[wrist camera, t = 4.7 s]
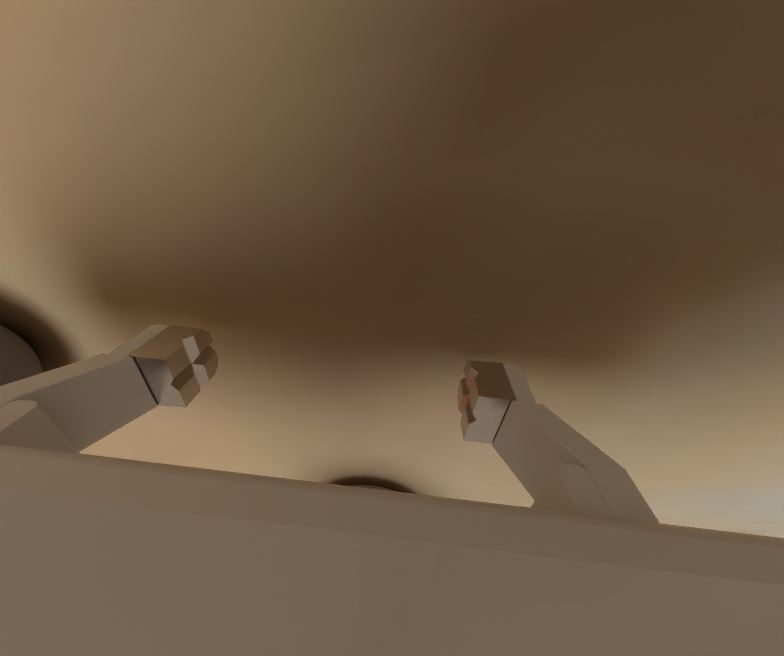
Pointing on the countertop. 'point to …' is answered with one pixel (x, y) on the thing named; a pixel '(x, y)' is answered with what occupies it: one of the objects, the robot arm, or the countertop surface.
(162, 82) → the countertop surface
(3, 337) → the dark gray ball
